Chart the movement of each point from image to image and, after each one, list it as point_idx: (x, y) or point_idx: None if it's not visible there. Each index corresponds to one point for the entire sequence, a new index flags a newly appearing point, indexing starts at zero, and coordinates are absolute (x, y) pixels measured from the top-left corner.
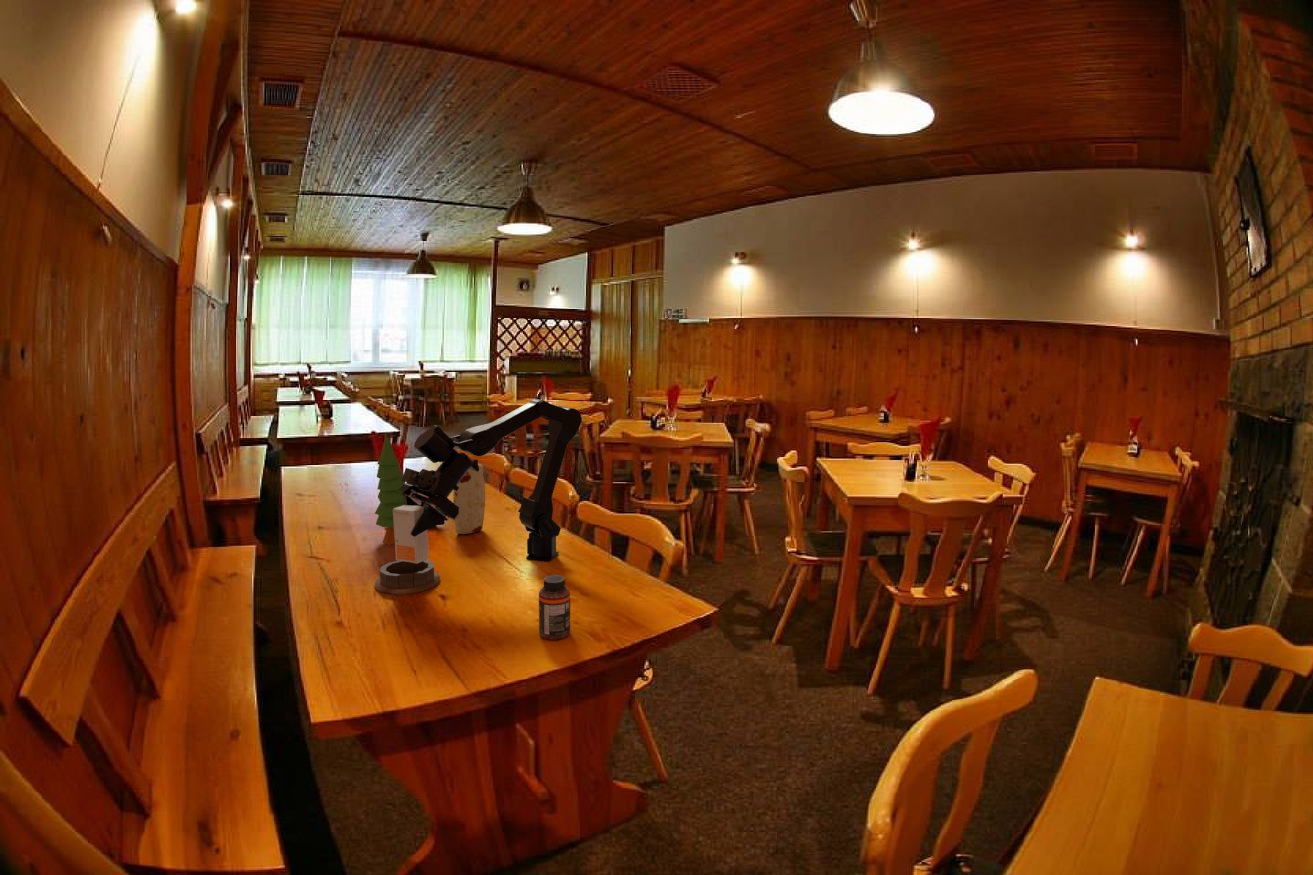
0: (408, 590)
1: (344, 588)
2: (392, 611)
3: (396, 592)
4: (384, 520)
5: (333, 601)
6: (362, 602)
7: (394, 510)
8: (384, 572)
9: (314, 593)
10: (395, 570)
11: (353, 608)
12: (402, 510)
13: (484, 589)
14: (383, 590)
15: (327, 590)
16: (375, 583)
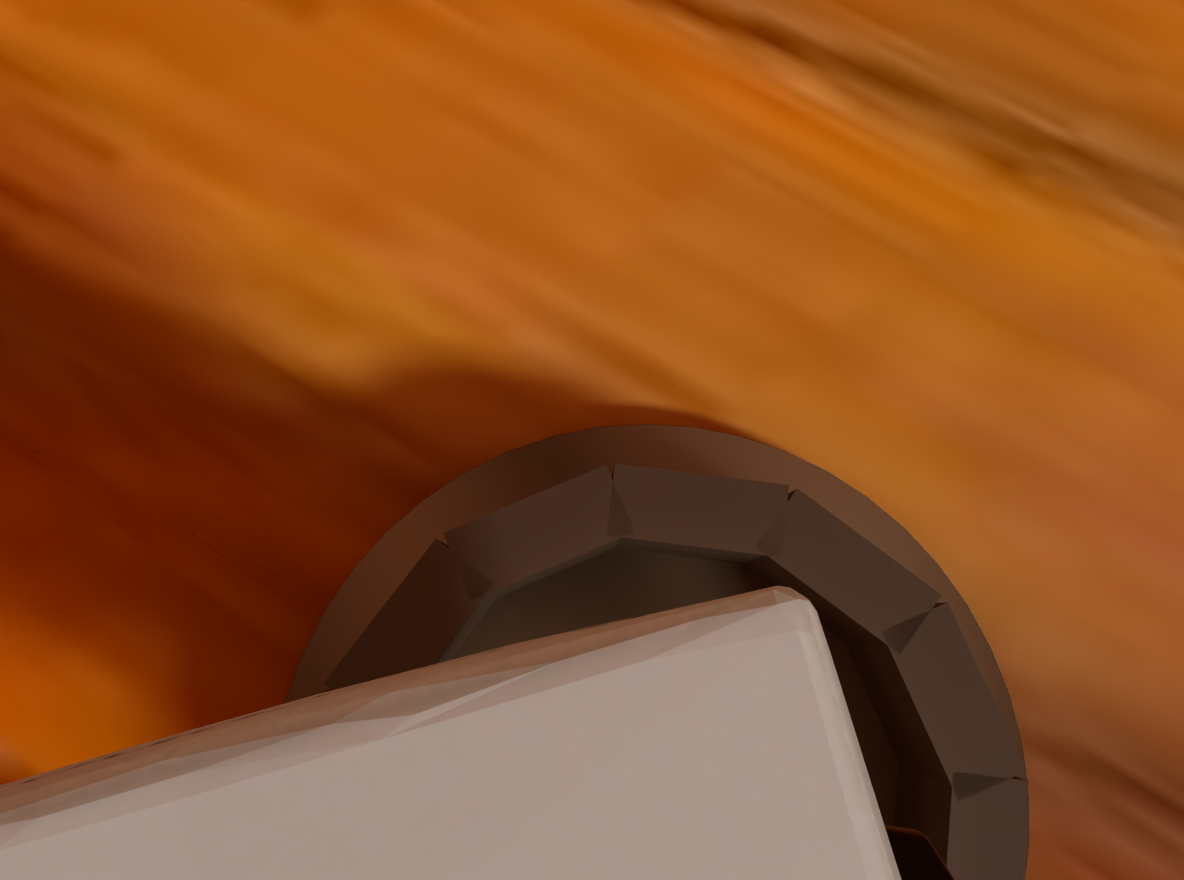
0: (343, 593)
1: (1027, 256)
2: (88, 220)
3: (434, 496)
4: None
5: (772, 11)
6: (528, 166)
7: (663, 613)
8: (709, 500)
9: (1114, 4)
10: (914, 801)
11: (459, 35)
12: (77, 781)
13: None
14: (586, 431)
15: (1100, 121)
16: (829, 481)
